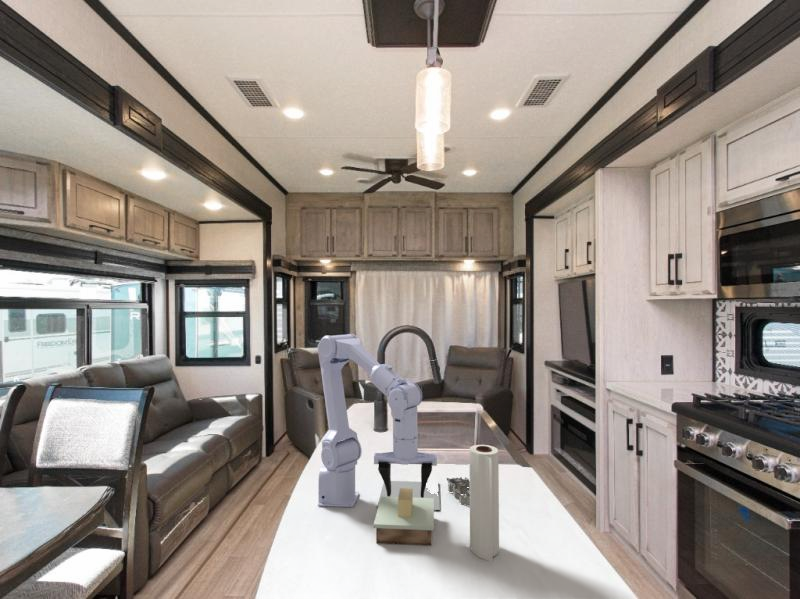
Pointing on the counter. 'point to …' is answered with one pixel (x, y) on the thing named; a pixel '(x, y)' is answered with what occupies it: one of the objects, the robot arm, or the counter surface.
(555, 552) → the counter surface
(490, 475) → the paper towel roll
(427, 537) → the box base
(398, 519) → the lid
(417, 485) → the mat
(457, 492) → the egg carton
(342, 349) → the robot arm
